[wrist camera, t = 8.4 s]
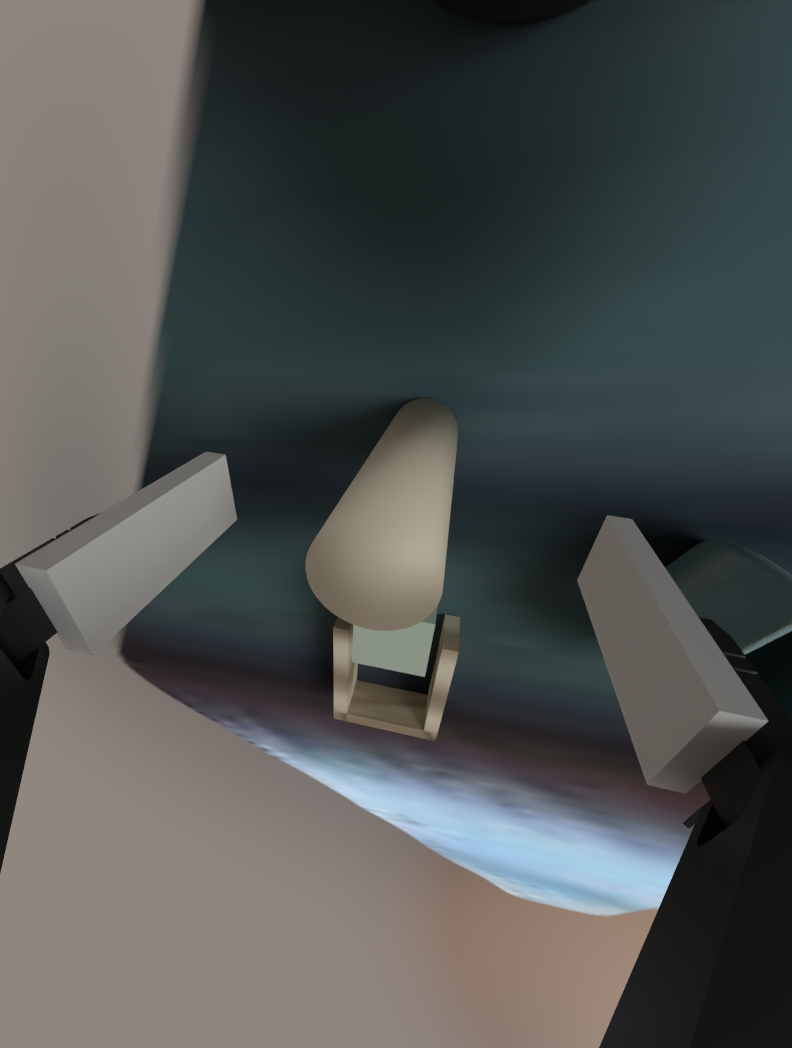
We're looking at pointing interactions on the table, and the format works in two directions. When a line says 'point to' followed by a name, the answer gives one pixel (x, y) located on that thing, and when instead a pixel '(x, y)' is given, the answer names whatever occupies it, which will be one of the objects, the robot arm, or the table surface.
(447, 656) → the beige u-shaped frame
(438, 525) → the beige teardrop-shaped paddle
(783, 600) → the flower pot
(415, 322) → the table surface
